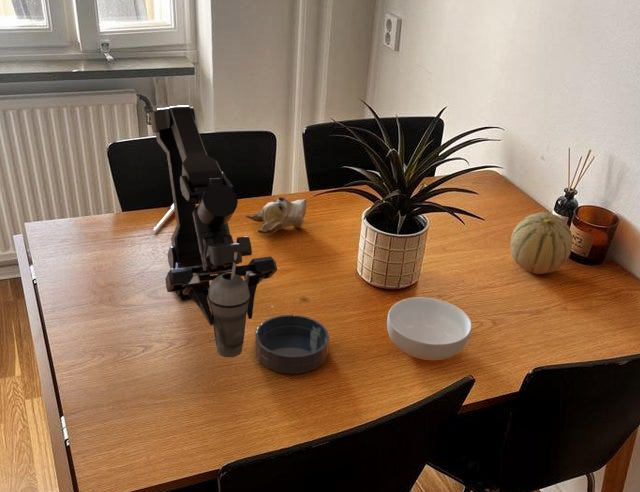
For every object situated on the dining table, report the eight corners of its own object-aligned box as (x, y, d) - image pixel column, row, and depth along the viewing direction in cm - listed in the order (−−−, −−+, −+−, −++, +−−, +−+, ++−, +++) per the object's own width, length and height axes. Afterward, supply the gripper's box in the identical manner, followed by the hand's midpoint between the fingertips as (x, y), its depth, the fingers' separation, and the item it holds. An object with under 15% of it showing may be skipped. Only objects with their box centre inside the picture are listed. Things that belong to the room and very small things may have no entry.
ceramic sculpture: (314, 201, 176) (257, 211, 171) (314, 232, 181) (259, 243, 176) (298, 185, 184) (243, 194, 179) (299, 215, 189) (245, 225, 184)
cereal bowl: (444, 384, 133) (450, 354, 129) (368, 352, 140) (372, 322, 136) (479, 343, 145) (485, 314, 142) (408, 315, 152) (412, 287, 148)
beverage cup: (210, 337, 129) (207, 241, 118) (250, 338, 130) (251, 242, 119) (207, 362, 123) (204, 262, 112) (249, 362, 124) (250, 264, 113)
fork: (147, 232, 175) (147, 225, 174) (177, 200, 191) (177, 193, 190) (160, 234, 174) (159, 227, 173) (189, 201, 191) (188, 195, 190)
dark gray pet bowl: (272, 383, 129) (272, 363, 127) (244, 341, 140) (244, 323, 137) (339, 366, 135) (341, 347, 133) (308, 327, 145) (309, 309, 143)
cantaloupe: (544, 252, 182) (558, 199, 174) (576, 281, 171) (593, 225, 162) (493, 257, 178) (505, 202, 169) (523, 287, 166) (537, 230, 158)
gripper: (164, 227, 113) (182, 321, 111) (275, 215, 120) (294, 303, 118) (158, 247, 123) (174, 333, 121) (260, 235, 130) (278, 317, 128)
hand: (231, 321), depth 122 cm, fingers closed on beverage cup, 6 cm apart
